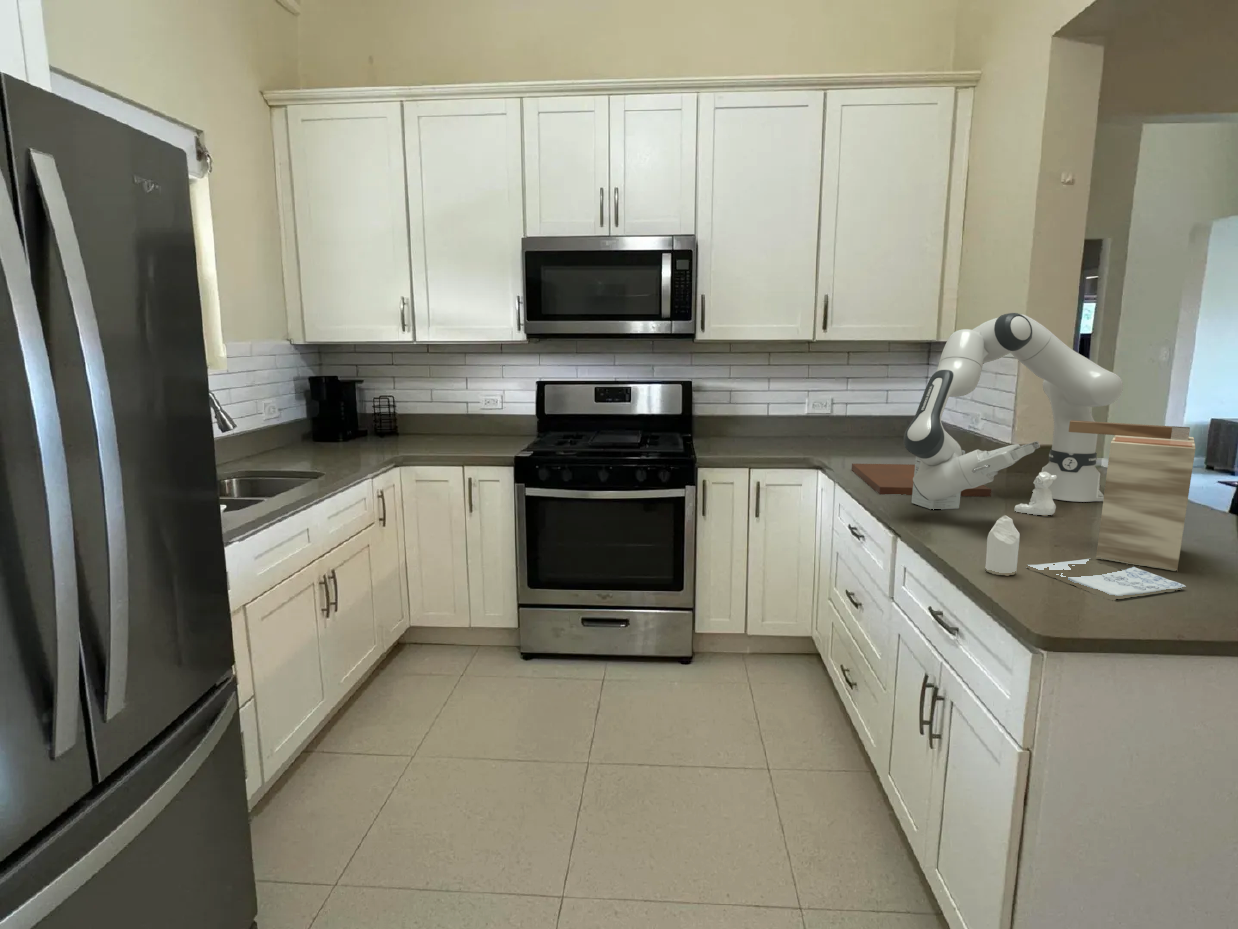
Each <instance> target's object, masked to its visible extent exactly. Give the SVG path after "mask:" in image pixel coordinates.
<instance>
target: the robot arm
mask: <svg viewBox="0 0 1238 929" xmlns="http://www.w3.org/2000/svg"><path fill="white" fill-rule="evenodd" d="M1009 354H1011V355H1012V356H1013V357H1015V359H1016V360H1017V361H1018V362H1020V363H1021V364H1023V365H1024V367H1026V368H1027V369H1028V370H1029V371H1030V372H1031V373H1032V374H1034V375H1035V376H1037V377H1038V378H1039V379H1042V380H1043V381H1042V389H1043V392H1044V394H1045V395H1046V397H1047V399H1048V400H1049V402H1050V408H1051V412H1052V418H1053V434H1052V446H1051V449H1050V450H1049V453H1048V463H1047V464H1046V465H1044V466H1042V469H1041V472H1048V473H1049V474H1051V475H1056V476H1057V478H1056V479H1055V480H1053V483H1052V484H1051V485H1050V486H1049V487H1048V489H1050V490H1051V492H1052V499H1053V500H1059V501H1065V502H1066V501H1067V502H1080V503H1082V502H1083V503H1085V502H1086V503H1087V502H1088V503H1089V502H1103V500H1104V493H1103V492H1101V490H1100V489H1101V484H1100V478H1101V472H1100V471H1099V470H1098V468H1096V465H1097V460H1098V452H1096V450H1097V444H1098V443H1097V442H1098V435H1099V434H1091V433H1077V432H1069V424H1070V421H1071V420H1077V421H1093V422H1096V421H1095V419H1094V417H1093V415H1092V412H1091V408H1097V407H1104V406H1110V405H1112V404H1114V403H1116V402H1117V401H1118V400H1119V399H1120V398H1121V396H1122V393H1123V391H1124V384H1123V380H1122V378H1121V377H1120V376H1119V375H1118V374H1116V373H1115V372H1113V371H1110V370H1108V369H1106V368H1104V367H1102V366H1100V365H1099V364H1098V363H1095V362H1094V361H1092V360H1091V359H1089V358H1088V357H1085V356H1084V355H1082V354H1080V353H1079V352H1077V351H1076V350H1074V349H1072V348H1070V346H1068V345H1067V344H1065V343H1064V342H1063V341H1062V340H1061V339H1060V338H1058V336H1056V335H1055V334H1054V333H1053V332H1051V330H1049V329H1048V328H1047V327H1045V326H1044V325H1043V324H1041V323H1040V322H1038V320H1035V319H1034V318H1031V317H1030V316H1028V315H1027V314H1022V313H1018V312H1008V313H1004V314H1001V315H1000V316H998V317H995V318H992V319H989V320H986V321H984V322H982V323H981V324H979V325H978V326H975V327H974V328H973V329H972V328H971V329H969V328H963V329H959V330H958V329H957V330H956V331H954V332H953V333H951V334H950V336H949V337H948V338H947V340H946V343H945V345H944V347H943V350H942V352H941V355H940V358H939V360H938V361H939V362H938V365H937V369H936V371H935V372H934V373H933V374H932V375H931V376H930V378H929V380H928V382H927V384H926V386H925V389H924V391H923V395H922V397H921V399H920V403H919V404H918V408H917V411H916V413H915V415H914V417H913V418H912V420H911V421H910V423H909V425H908V426H907V428H906V429H905V431H904V434H903V438H902V439H903V445H904V447H905V449H906V450H907V451H908V452H909V453H911V454H912V455H914V456H915V457H916V456H917V457H918V458H919V459H920V460H921V461H920V466H919V470H918V472H917V474H916V475H915V476H914V477H913V483H914V486H915V488H916V489H917V491H918V492H919V493H920V495H922V496H923V497H924V498H925V499H927V500H930V501H932V500H939V499H943V498H946V497H950V496H953V495H955V494H958V493H960V492H961V491H963V490H965V489H970V488H975V487H978V486H981V485H986V484H989V483H991V482H993V481H994V477H995V476H997V475H998V474H999V471H1001V470H1003V469H1006V468H1008V467H1011V466H1013V465H1014V464H1016V463H1017V462H1018V461H1020V460H1021V459H1022V458H1024V457H1026V456H1027V455H1031V454H1033V453H1034V452H1035V451H1036V450H1037V449H1039V448H1041V444H1040V443H1039V441H1037V440H1035V441H1033V442H1029V443H1027V444H1023V445H1020V444H1019V443H1015V444H1011V445H1007V446H1003V447H1000V448H996V449H993V450H988V451H987V450H980V449H979V448H978V449H974V450H973V451H970V452H969V451H968V452H967V453H965V454H964V455H963V454H962V450H963V449H962V447H961V445H960V444H959V442H958V441H957V440H956V439H954V438H953V436H951V435H950V434H949V433H948V432H947V431H946V430H945V428H944V426H943V423H942V417H943V414H944V411H945V408H946V406H947V403H948V400H949V398H953V397H954V398H957V397H964V396H967V395H969V394H970V393H972V392H973V391H974V390H975V389H976V388H977V386H978V383H979V381H980V378H981V376H982V374H981V373H982V371H983V366H984V364H985V363H990V362H994V361H997V360H999V359H1001V358H1003V357H1005V356H1007V355H1009ZM1034 490H1035V488H1034V489H1032V491H1031V492H1033V491H1034Z"/></svg>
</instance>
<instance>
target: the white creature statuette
mask: <svg viewBox="0 0 1238 929" xmlns="http://www.w3.org/2000/svg"><path fill="white" fill-rule="evenodd" d="M1056 478H1057V476H1056V475H1051V474H1049V473H1048V472H1042V471H1040V472H1039V473H1038V475H1037V476H1036V477H1035V478H1034V481H1032V482H1033V484H1034V489H1035V490H1034V491H1033V490H1032V491H1033V493H1032V494H1031V498H1030V499H1029V502H1028V504H1027V503H1022V502H1021V503H1019V504H1016V505H1014V508H1013V509H1014V512H1015V511H1016V512H1015V513H1017V512H1021V513H1020V514H1022V513H1027V514H1026V515H1029V514H1033V515H1032V516H1037V515H1051V516H1052V515H1054V513H1056V508H1057V505H1056V503H1055V502H1054V499H1053V498H1052V492H1051V490H1050V489H1048V487H1049V486H1050V485H1051V484H1052V483H1053V480H1055V479H1056Z"/></svg>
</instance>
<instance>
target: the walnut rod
mask: <svg viewBox="0 0 1238 929" xmlns="http://www.w3.org/2000/svg"><path fill="white" fill-rule="evenodd" d="M1190 431H1191V428H1190V426H1179V425H1178V426H1177V425H1170V426H1169V425H1156V424H1154V425H1153V424H1142V423H1141V424H1139V423H1126V422H1125V423H1123V422H1107V421H1106V422H1105V421H1095V422H1093V421H1077V420H1071V421H1070V424H1069V432H1077V433H1091V434H1098V435H1108V436H1115V435H1120V436H1134V437H1148V438H1163V439H1173V440H1187V441H1188V439H1189V437H1190Z"/></svg>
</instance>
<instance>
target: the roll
mask: <svg viewBox="0 0 1238 929" xmlns="http://www.w3.org/2000/svg"><path fill="white" fill-rule="evenodd" d="M1020 537H1021V535H1020V532H1019V531H1018V529H1017V528H1016V526H1015V524H1014V520H1013V518H1011V517H1009V516H1007V515H1002V516H1001V517H999V518H998V519H997V520H996V522H995V523H994V525H993V526H992V528H991V530H990V531H989V532H988V534H987V539H986V556H985V557H986V558H985V568H986V569H987V570H992V571H995V572H999V573H1012V572H1015V571H1016V572H1017V569H1018V568H1017V566H1018V558H1019V547H1020Z"/></svg>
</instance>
